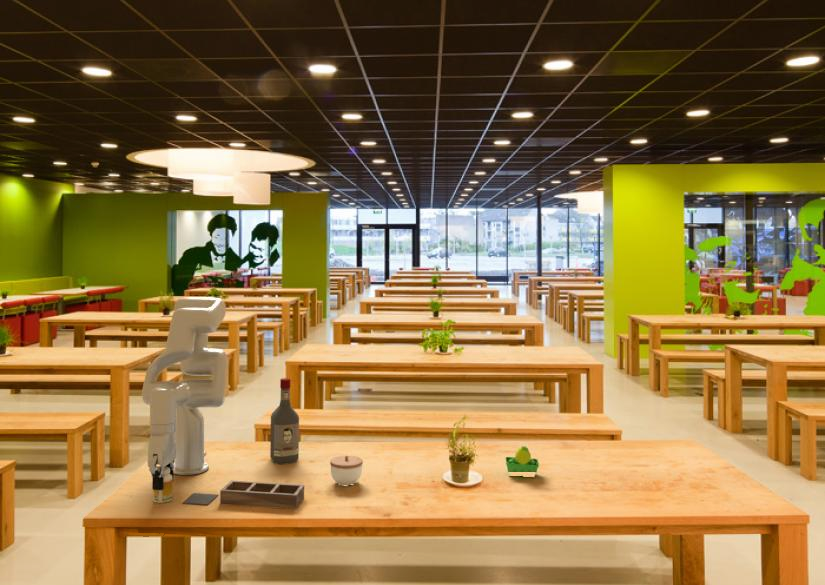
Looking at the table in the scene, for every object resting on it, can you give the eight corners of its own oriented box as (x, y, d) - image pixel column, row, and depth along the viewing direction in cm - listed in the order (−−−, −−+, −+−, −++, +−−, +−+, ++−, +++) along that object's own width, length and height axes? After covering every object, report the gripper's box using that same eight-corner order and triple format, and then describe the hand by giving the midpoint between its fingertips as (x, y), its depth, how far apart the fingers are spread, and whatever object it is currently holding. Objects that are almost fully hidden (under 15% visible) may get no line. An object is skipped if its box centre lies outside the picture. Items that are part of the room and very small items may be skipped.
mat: (193, 494, 212) (193, 493, 212) (218, 495, 211) (218, 494, 211) (182, 503, 204) (182, 502, 204) (207, 505, 203) (207, 504, 203)
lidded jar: (357, 490, 219) (357, 461, 218) (325, 487, 221) (326, 459, 220) (365, 479, 229) (366, 452, 229) (335, 476, 232) (336, 449, 231)
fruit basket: (536, 472, 241) (538, 441, 240) (539, 480, 232) (540, 448, 232) (504, 470, 242) (505, 439, 242) (505, 478, 234) (506, 446, 233)
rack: (231, 493, 213) (231, 480, 213) (304, 498, 211) (304, 484, 211) (220, 504, 204) (220, 490, 204) (296, 509, 202) (296, 495, 202)
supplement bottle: (174, 496, 209) (174, 466, 209) (169, 503, 204) (169, 471, 203) (157, 496, 209) (157, 465, 208) (151, 503, 204) (151, 471, 203)
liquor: (269, 457, 250) (270, 377, 248) (293, 455, 254) (294, 376, 252) (274, 465, 242) (275, 382, 240) (299, 462, 246) (301, 380, 244)
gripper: (164, 420, 214) (164, 475, 215) (137, 434, 197) (137, 495, 198) (187, 421, 213) (187, 477, 214) (161, 436, 196) (161, 496, 197)
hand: (163, 485), depth 206 cm, fingers open, 5 cm apart
